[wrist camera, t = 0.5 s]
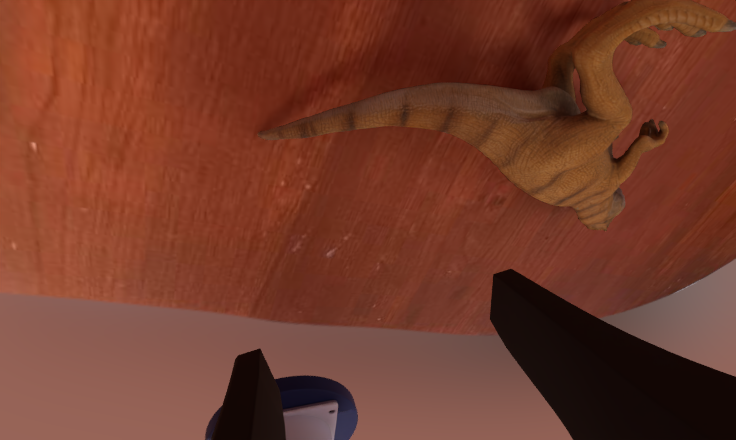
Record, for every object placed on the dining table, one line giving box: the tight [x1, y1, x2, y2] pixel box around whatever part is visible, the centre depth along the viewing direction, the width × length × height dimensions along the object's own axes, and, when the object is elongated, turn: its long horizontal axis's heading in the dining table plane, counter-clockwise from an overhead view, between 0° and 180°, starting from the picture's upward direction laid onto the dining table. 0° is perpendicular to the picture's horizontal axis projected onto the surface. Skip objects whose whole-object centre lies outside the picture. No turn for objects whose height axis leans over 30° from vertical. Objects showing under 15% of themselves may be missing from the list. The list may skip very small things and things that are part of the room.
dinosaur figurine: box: [258, 0, 736, 231], centre depth 17 cm, size 7×22×12 cm
